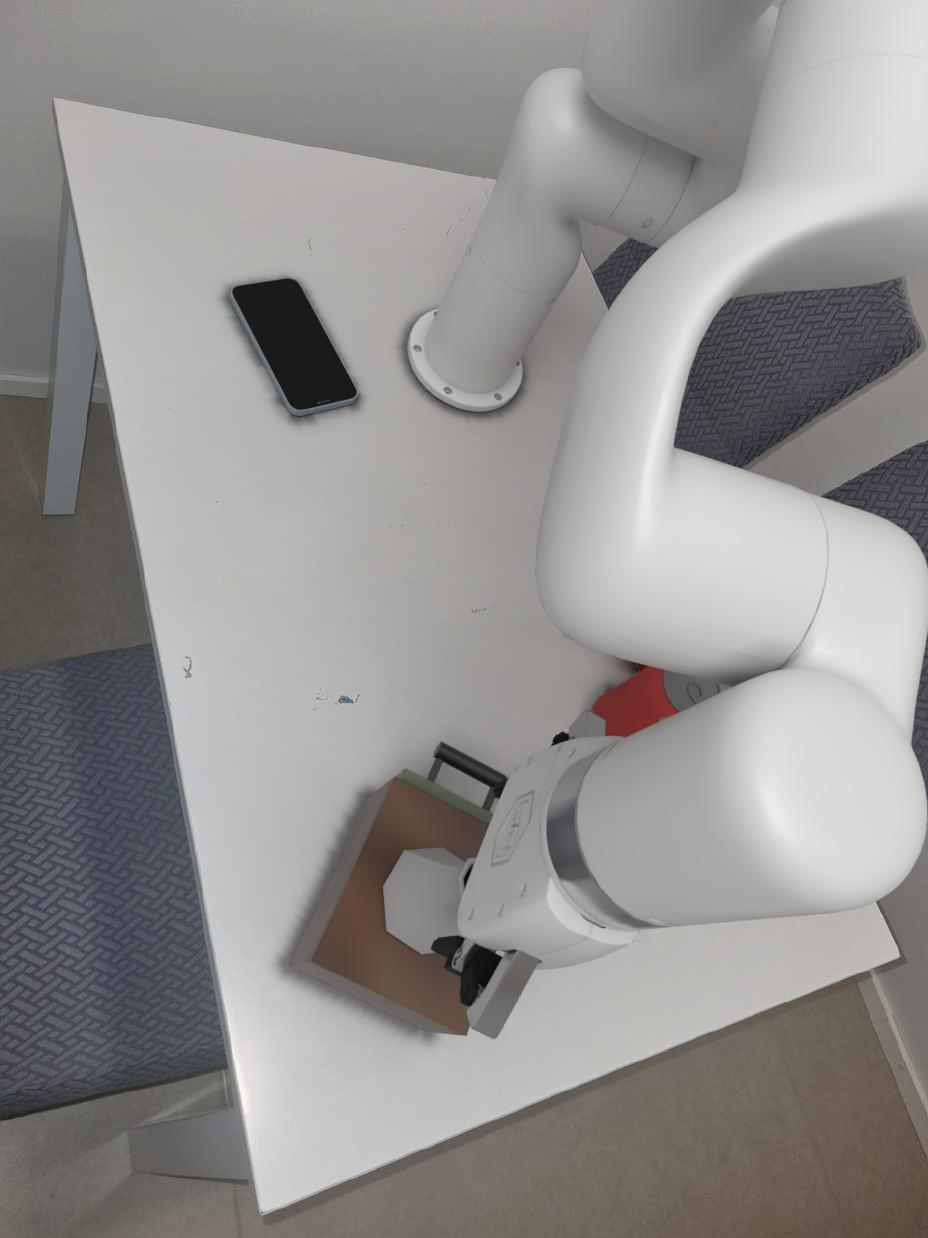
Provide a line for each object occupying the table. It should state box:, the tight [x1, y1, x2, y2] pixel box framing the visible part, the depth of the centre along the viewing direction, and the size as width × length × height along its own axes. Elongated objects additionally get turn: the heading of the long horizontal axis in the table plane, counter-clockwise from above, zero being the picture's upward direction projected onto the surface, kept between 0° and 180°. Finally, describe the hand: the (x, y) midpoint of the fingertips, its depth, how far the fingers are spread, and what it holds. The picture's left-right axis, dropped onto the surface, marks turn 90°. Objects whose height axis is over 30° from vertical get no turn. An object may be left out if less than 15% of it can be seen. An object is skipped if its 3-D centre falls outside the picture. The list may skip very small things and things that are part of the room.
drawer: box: [395, 741, 508, 824], centre depth 65 cm, size 17×10×7 cm, turn 157°
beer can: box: [592, 666, 721, 738], centre depth 76 cm, size 7×7×12 cm
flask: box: [383, 847, 476, 954], centre depth 56 cm, size 7×7×10 cm
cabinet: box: [288, 775, 497, 1037], centre depth 64 cm, size 14×12×9 cm
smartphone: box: [229, 276, 359, 417], centre depth 84 cm, size 7×1×15 cm
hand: (486, 875), depth 51 cm, fingers open, 9 cm apart
